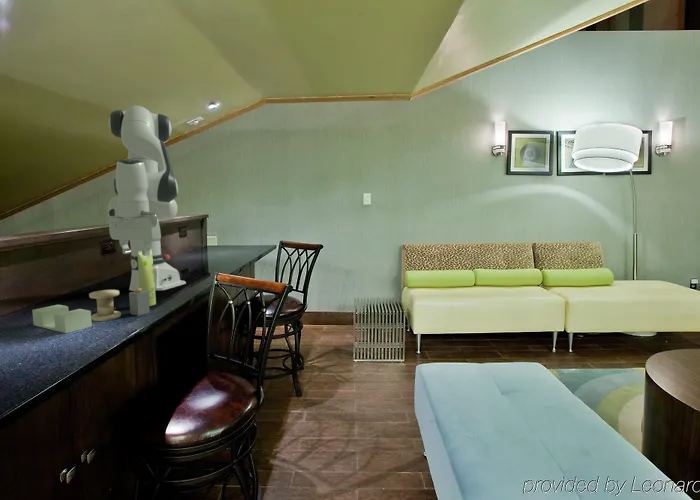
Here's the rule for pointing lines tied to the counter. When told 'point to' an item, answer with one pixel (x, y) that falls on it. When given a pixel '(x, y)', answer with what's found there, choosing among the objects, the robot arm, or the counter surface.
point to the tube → (147, 276)
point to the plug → (139, 302)
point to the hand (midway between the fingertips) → (136, 254)
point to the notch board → (62, 318)
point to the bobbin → (105, 305)
